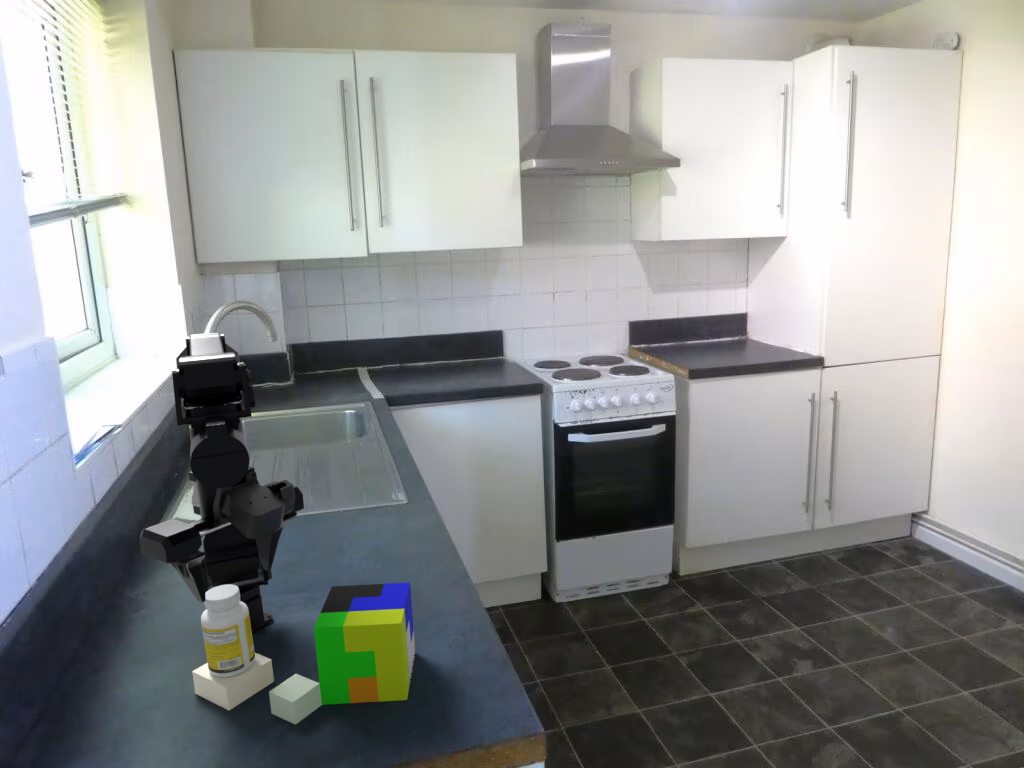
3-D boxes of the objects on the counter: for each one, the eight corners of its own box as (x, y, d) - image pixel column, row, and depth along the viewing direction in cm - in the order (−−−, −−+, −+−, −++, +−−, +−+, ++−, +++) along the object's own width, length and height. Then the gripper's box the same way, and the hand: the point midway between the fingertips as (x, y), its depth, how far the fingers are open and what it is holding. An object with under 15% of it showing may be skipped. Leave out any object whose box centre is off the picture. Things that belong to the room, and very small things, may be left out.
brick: (271, 714, 85) (268, 691, 84) (298, 695, 88) (295, 673, 87) (295, 725, 82) (292, 702, 82) (321, 706, 86) (319, 683, 85)
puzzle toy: (415, 652, 96) (410, 582, 94) (407, 700, 86) (401, 623, 84) (338, 656, 96) (331, 586, 94) (321, 705, 86) (313, 627, 84)
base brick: (195, 693, 89) (192, 671, 88) (240, 666, 94) (237, 645, 93) (229, 710, 85) (226, 687, 85) (274, 681, 91) (271, 659, 90)
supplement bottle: (235, 648, 93) (225, 577, 91) (265, 659, 90) (255, 586, 88) (198, 671, 88) (187, 597, 86) (228, 683, 85) (217, 607, 83)
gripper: (187, 499, 73) (206, 640, 76) (329, 450, 88) (340, 569, 91) (127, 481, 79) (147, 612, 83) (269, 438, 94) (281, 550, 98)
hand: (235, 584), depth 88 cm, fingers open, 9 cm apart
